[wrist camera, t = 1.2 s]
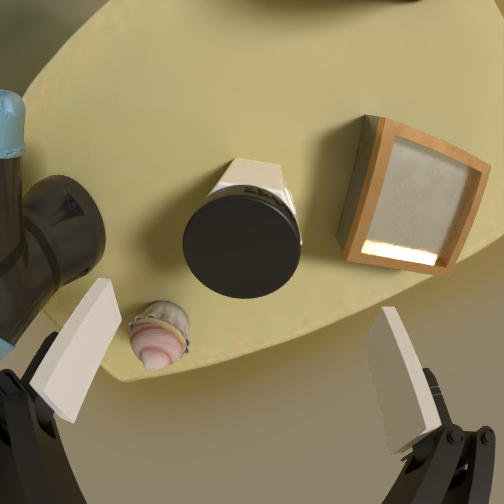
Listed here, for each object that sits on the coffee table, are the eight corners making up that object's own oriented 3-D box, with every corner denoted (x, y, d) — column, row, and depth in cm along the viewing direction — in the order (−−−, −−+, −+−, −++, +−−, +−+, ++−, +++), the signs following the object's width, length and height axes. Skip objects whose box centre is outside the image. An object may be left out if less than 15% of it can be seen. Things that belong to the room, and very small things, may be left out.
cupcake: (128, 304, 38) (101, 352, 30) (170, 282, 35) (143, 336, 27) (167, 342, 42) (149, 391, 34) (210, 327, 39) (197, 382, 31)
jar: (302, 219, 30) (317, 286, 19) (234, 242, 32) (216, 314, 21) (273, 143, 26) (274, 169, 15) (200, 172, 28) (158, 217, 17)
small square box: (333, 241, 31) (343, 267, 26) (365, 114, 23) (386, 117, 18) (427, 258, 31) (445, 282, 26) (463, 153, 23) (491, 165, 19)
